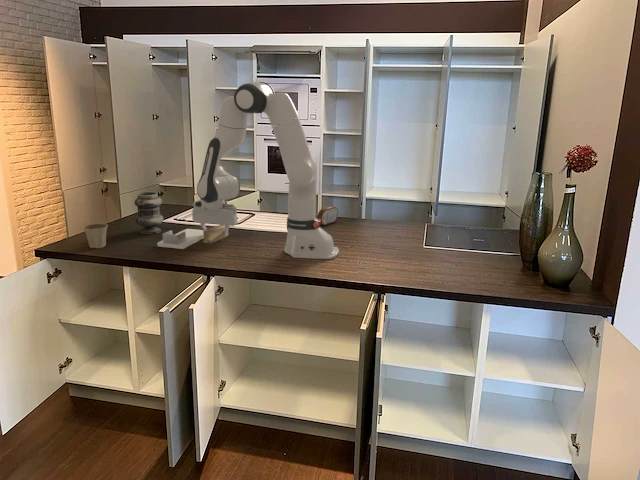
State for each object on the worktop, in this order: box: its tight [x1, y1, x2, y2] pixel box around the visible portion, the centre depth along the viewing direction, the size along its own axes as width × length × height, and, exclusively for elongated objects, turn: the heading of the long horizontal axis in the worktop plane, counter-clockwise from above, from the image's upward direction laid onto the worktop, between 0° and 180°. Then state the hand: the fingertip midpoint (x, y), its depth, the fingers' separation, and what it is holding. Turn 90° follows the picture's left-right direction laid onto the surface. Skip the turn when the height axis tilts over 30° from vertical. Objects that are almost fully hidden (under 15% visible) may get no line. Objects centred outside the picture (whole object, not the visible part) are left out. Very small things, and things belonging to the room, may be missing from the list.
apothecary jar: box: [134, 191, 164, 235], centre depth 221 cm, size 12×12×18 cm
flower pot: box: [82, 223, 109, 249], centre depth 199 cm, size 9×9×9 cm
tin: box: [316, 205, 339, 226], centre depth 243 cm, size 15×3×8 cm, turn 144°
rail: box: [203, 225, 230, 244], centre depth 214 cm, size 4×14×5 cm, turn 157°
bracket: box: [156, 228, 204, 250], centre depth 211 cm, size 12×24×6 cm, turn 165°
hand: (215, 233), depth 213 cm, fingers open, 8 cm apart
